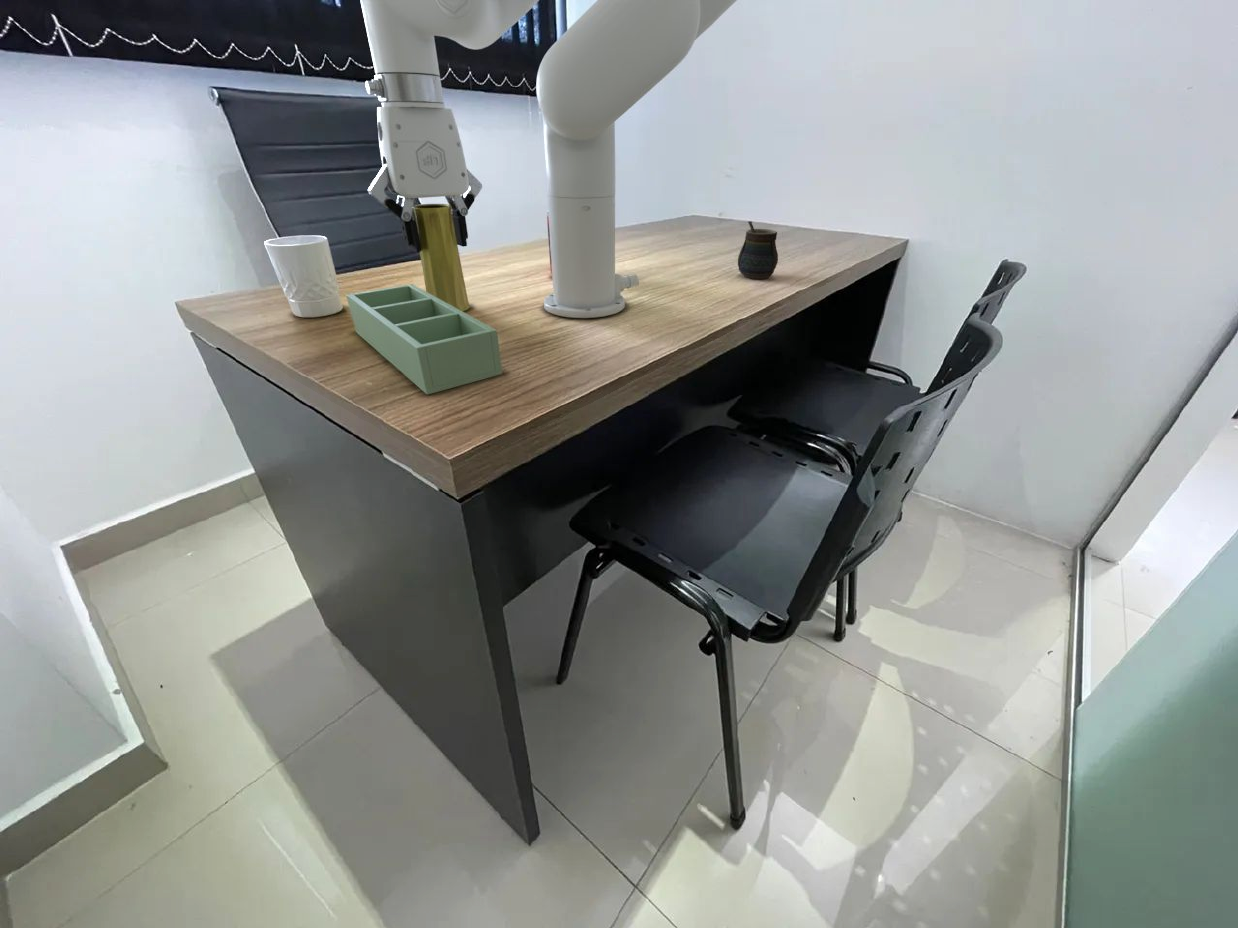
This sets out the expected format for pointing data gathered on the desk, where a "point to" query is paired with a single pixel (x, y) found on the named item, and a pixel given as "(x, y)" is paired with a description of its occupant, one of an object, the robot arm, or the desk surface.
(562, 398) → the desk surface
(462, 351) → the compartment tray
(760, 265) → the mate gourd
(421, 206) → the vase
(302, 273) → the white cup
